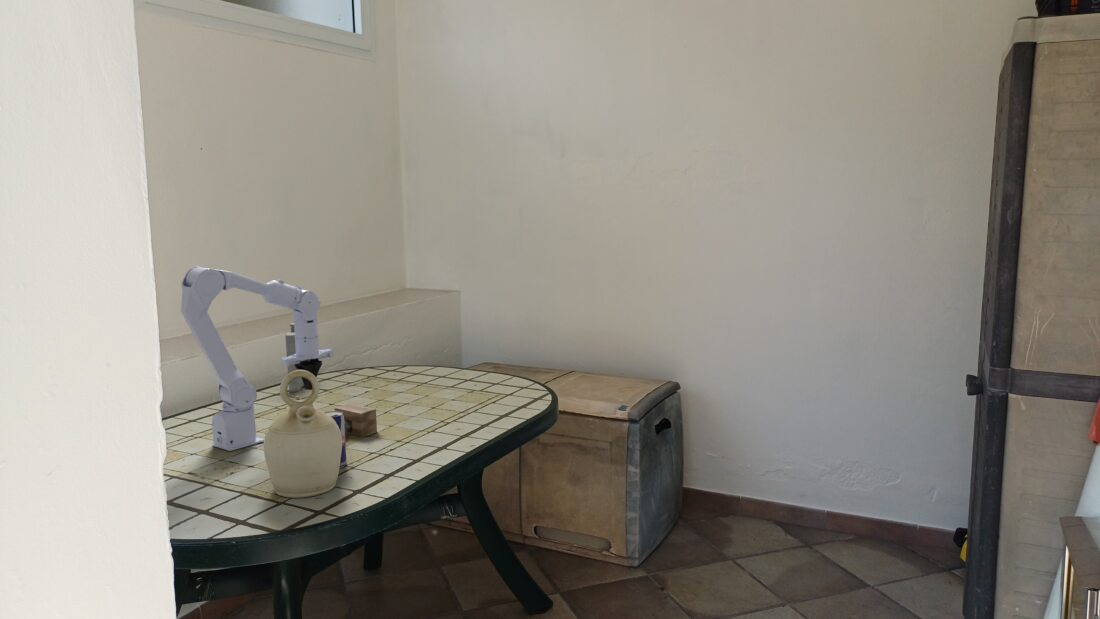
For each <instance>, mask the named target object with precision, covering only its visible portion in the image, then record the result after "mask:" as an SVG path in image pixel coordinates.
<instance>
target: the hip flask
mask: <svg viewBox="0 0 1100 619" xmlns="http://www.w3.org/2000/svg"><path fill="white" fill-rule="evenodd" d="M289 327H290V331H289V332H286V334H285V337H284V338H285V348H286V351H285V352H286V357H288V356H291V355H294V354H296V347H295V331H294V322H292V323H289ZM286 368H287V375H288V374H289V373H291V372H293V371H295V370H297V369H296V367H295V365H290V366H287V367H286ZM303 387H305V386H304V383H303V380H302V378H301V377H299V378H296V379H294V380H292V381H291V382H290V384H289V385H288V391H289V392H299V391H300V390H301V389H302V388H303Z"/></svg>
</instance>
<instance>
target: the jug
mask: <svg viewBox="0 0 1100 619" xmlns="http://www.w3.org/2000/svg"><path fill="white" fill-rule="evenodd" d="M299 377H303V378H306V379H308V380H309V381H310V382H311V384H312V390H311V393H310V394H309V395H308V396H307V397H306V398H304V399H303V398H302V397H301V396H300V395H296V396H295V397H294V398H292V397H290V396H289V393H288V389H289V384H290V382H291V381H292V380H294V379H296V378H299ZM317 378H318V377H317ZM317 378H316V377H315V376H314V375H313V374H312V373H310V372H308V371H306V370H295V371H293V372H291V373H289V374H288V373H287V375H285V376H284V378H283V379H282V381H281V383H280V385H279V396H280V398H281V400H282V401H283V402H284V403H285V404H286V405H287V406H289V408H288V411H286V412H284V413H282V414H280V415H278V417H277V418H275V419H274V420H273V421H272V422H271V423H270V424H269V426H267V427H268V428H267V431H266V432H265V436H264V438H263V439H264V441H263V454H264V460H265V462H266V467H267V470H268V474H269V477H270V481H271V484H272V486H273V489H274V492H275V494H277V495H278V496H280V497H285V498H290V499H303V498H308V497H316V496H319V495H322V494H326V493H328V492H330V491H331V490H333V489H334V488H335V487H336V485H337V481H338V476H339V473H340V469H339V467H340V460H341V451H342V436H341V432H340V429H339V427H338V425H337V424H336V422H335V420H334V419H333V418H332V417H330V416H329V415H327V414H326V413H324V412H325V411H322V410H320V409H317V408H315V407H314V405H313V404H314V402H315V401H316V400H317V399H318V397H319V395H320V391H321V390H320V387H321V386H320V383H319V380H318V379H317Z"/></svg>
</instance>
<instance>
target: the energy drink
mask: <svg viewBox="0 0 1100 619" xmlns="http://www.w3.org/2000/svg"><path fill="white" fill-rule="evenodd" d="M323 412H324V413H326V414H327V415H329V416H330V417H332V418H333V419H334V420H335V422H336V424H337V425H338V427H339V429H340V432H341V436H342V451H341V460H340V467H339V470H340V469H343V468H345V467H346V465H347V462H348V461H347V449H346V446H347V445H346V438H345V427H344V416H343V413H342V412H340V411H335V410H329V411H323ZM344 466H345V467H344Z"/></svg>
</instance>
